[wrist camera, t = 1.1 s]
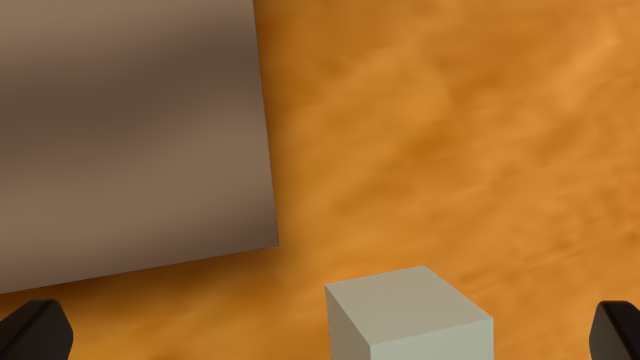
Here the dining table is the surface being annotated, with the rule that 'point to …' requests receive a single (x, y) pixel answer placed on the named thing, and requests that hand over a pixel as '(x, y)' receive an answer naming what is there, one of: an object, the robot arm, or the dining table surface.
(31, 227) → the walnut block
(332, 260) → the dining table surface
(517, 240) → the dining table surface
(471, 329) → the sage block
